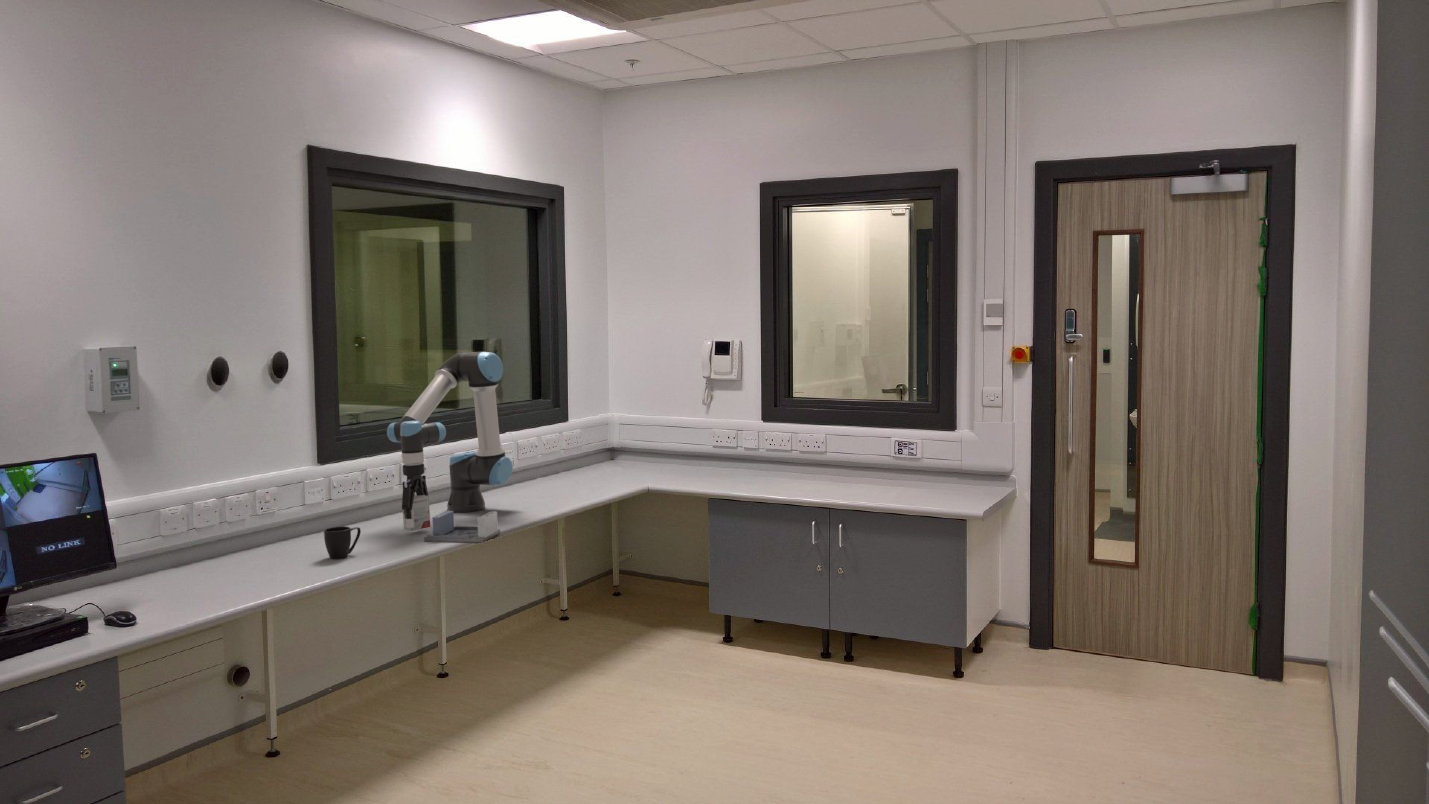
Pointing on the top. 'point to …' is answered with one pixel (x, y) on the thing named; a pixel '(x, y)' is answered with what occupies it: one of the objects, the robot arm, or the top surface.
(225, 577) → the top surface
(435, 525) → the block
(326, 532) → the mug
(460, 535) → the base
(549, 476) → the top surface
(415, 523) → the ink box
